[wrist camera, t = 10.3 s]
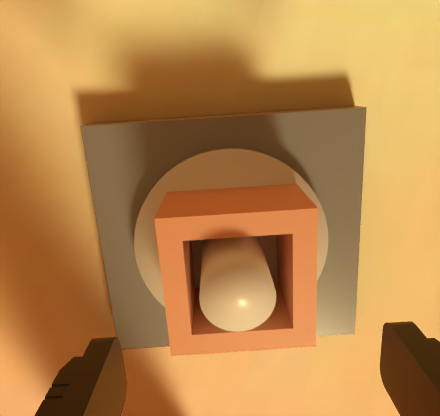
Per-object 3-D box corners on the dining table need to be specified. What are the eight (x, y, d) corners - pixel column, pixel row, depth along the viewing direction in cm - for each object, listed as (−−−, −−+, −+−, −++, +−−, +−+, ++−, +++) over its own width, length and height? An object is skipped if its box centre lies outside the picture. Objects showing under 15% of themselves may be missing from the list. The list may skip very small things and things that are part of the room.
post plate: (355, 105, 20) (435, 115, 13) (346, 319, 24) (403, 417, 17) (90, 123, 20) (21, 143, 13) (124, 333, 24) (86, 438, 17)
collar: (296, 183, 19) (318, 208, 15) (296, 298, 21) (315, 346, 17) (166, 192, 19) (154, 218, 15) (178, 306, 21) (170, 355, 17)
